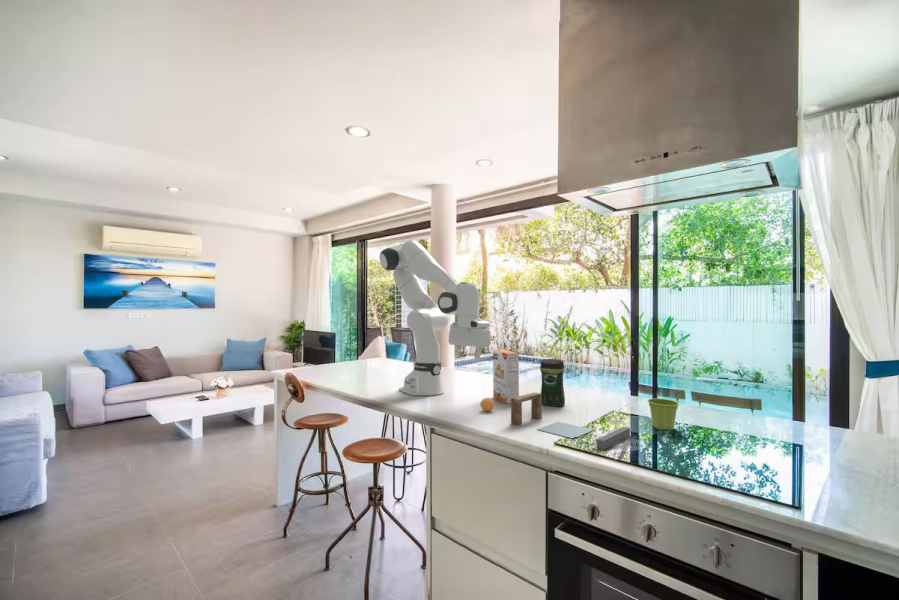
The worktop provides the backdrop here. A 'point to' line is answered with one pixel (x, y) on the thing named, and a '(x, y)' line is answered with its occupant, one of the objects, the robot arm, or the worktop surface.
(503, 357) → the cracker box
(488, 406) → the ball
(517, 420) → the bridge
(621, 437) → the wall
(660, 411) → the plant pot
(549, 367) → the coffee jar
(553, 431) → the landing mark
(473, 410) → the worktop surface
